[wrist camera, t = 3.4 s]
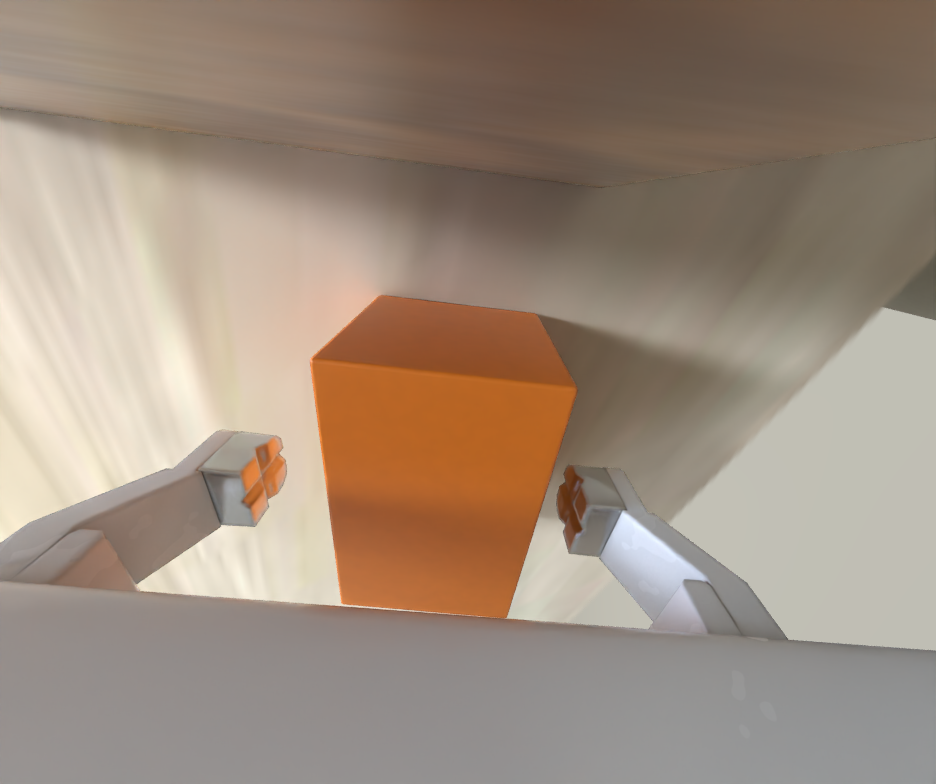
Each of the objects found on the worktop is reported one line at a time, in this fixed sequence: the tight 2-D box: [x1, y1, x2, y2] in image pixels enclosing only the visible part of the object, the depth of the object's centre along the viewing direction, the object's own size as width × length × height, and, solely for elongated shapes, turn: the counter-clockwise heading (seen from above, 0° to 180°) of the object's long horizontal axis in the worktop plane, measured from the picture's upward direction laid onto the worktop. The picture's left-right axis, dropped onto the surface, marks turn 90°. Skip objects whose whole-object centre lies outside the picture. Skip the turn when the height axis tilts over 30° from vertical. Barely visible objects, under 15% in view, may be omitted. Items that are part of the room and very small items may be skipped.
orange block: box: [310, 295, 578, 618], centre depth 10 cm, size 5×8×5 cm, turn 173°
